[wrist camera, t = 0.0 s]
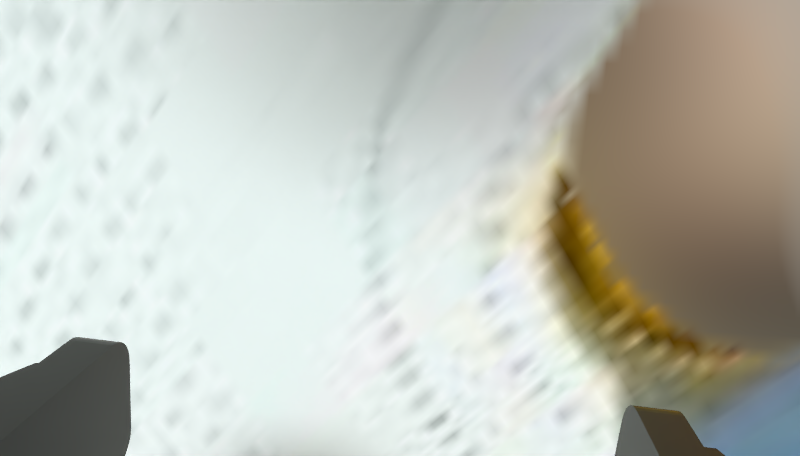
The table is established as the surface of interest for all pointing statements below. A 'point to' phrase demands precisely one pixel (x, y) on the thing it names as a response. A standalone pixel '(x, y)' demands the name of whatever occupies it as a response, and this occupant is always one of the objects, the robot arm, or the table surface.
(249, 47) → the table surface
